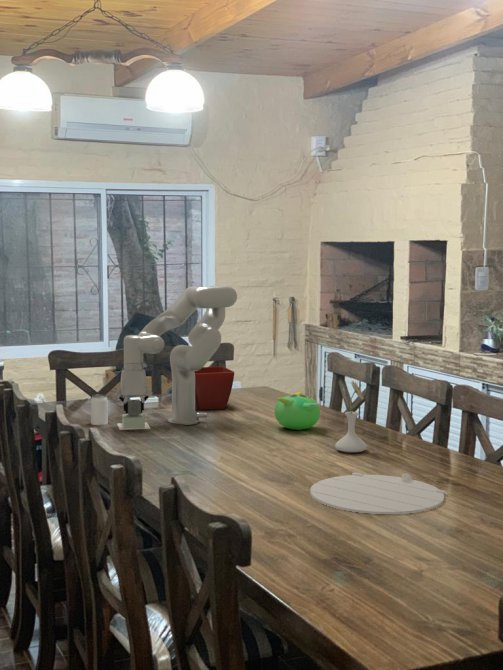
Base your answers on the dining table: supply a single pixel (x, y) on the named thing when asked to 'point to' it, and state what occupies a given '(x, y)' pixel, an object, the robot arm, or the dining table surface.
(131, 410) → the dice cube
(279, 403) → the toy bird
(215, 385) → the plant pot
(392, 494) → the lazy susan
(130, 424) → the sage brick
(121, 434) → the dining table surface
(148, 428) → the baseplate
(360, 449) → the flower in vase
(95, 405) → the can
